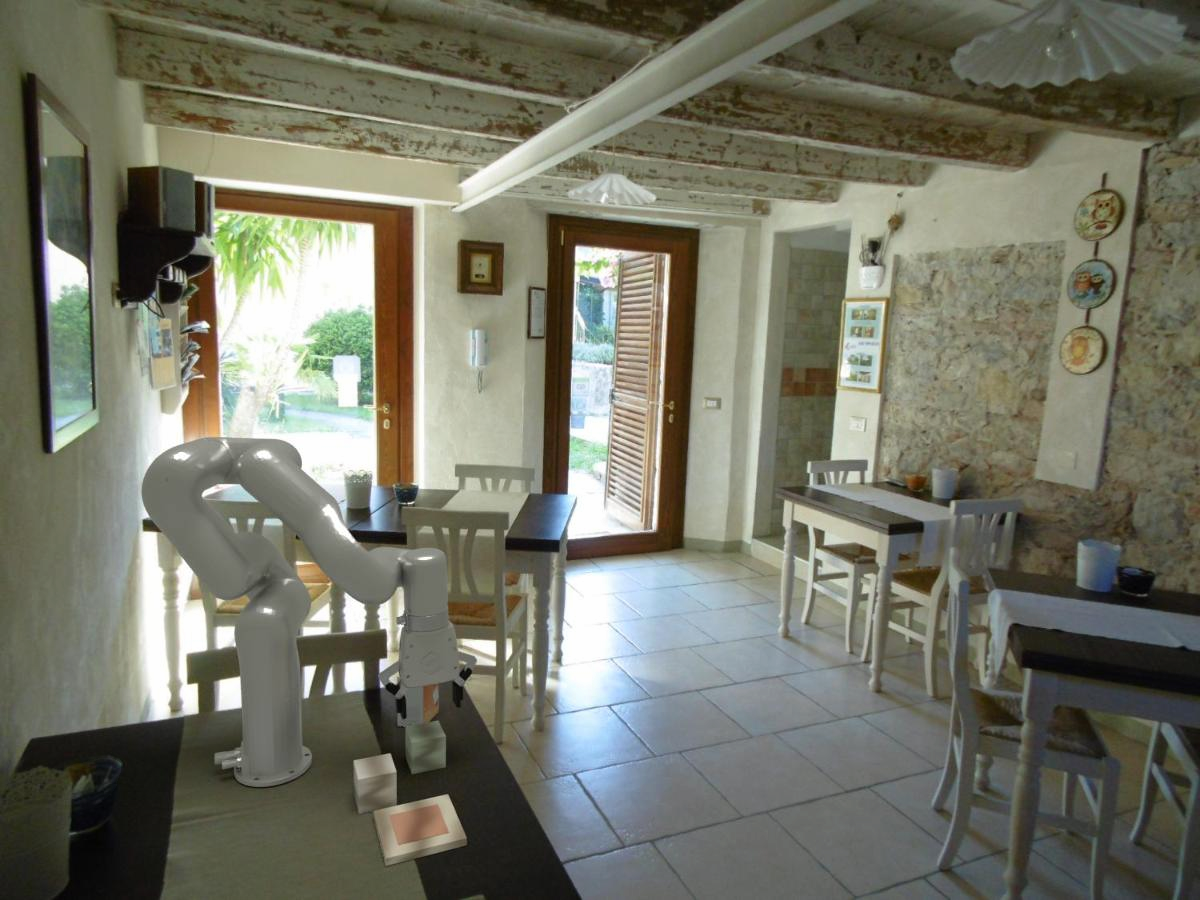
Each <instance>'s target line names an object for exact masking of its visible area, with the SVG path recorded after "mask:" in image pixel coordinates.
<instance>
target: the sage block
mask: <svg viewBox="0 0 1200 900" xmlns="http://www.w3.org/2000/svg"><path fill="white" fill-rule="evenodd" d="M404 728H405V730H404V731H405V734H404V736H405V739H404V740H405V760H406V762H407V764H408V767H409V769H410V773H411V775H414V774H415V775H416V774H419V773H425V772H428V771H434V770H438V769H444V768H446V767H447V736H446V734H445V732H444V730H443V727H442V725H441V722H440V721H439V720H435V721H434V720H433V721H430V722H428V723H422V724H417V725H411V726H406V727H404Z"/></svg>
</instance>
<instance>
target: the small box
mask: <svg viewBox="0 0 1200 900" xmlns="http://www.w3.org/2000/svg"><path fill="white" fill-rule="evenodd" d="M396 680H397V681H396V683H397V682H398V681H399V680H400V676H399V675H397V676H396ZM404 695H405V698H406V713H407V718H406V719H402V717H401V714H400V713H398V714H397V713H396V715H397V718H396V719H397V721H396V723H397V727H401V726H403V728H405V727H406V726H411V725H417V724H422V723H428V722H431V721H432V719H433V718H435V717H436V715H437V714H438V713H439V710H440V702H439V701H440V683H438V684H433V685H428V686H423V687H417V688H408V689H407V691H406V692H405V694H404Z"/></svg>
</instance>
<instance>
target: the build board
mask: <svg viewBox="0 0 1200 900" xmlns="http://www.w3.org/2000/svg"><path fill="white" fill-rule="evenodd" d="M372 812H373V813H372V815H373V816H372V818H373V822H374V827H375V830H376V834H377V837H378V841H380V842H379V845H380V849H381V850H380V851H381V853H383V854H382V857H384V858H383V861H384V865H385V867H387V866H391V865H394V864H395V865H396V864H401V863H403V862H404V863H405V862H407V861H411V860H414V859H419V858H422V857H427V856H431V855H434V854H438V853H442V852H445V851H450V850H453V849H458V848H462V847H466V846H467V845H468V844H467V843H468V840H467V839H468V837H467V836H466V832H465V830H464V828H463V826H462V824H461V821H460V819H459V817H458V815H457V812H456V809H455V807H454V805H453V803H452V800H451V798H450V796H449V793H447V794H442V795H438V796H435V797H430V798H429V797H428V798H426V799H420V800H416V801H411V802H407V803H402V804H397V805H396V806H391V807H387V808H383V809H378V810H374V811H372Z"/></svg>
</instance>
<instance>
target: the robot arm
mask: <svg viewBox="0 0 1200 900" xmlns="http://www.w3.org/2000/svg"><path fill="white" fill-rule="evenodd" d="M301 456H302V455H301V453H300V452H299V451H298V449H297V448H296V446H294V445H293V444H292V443H290V442H288V441H287V440H283V439H278V438H254V437H253V438H252V437H251V438H250V437H248V438H247V437H227V436H226V437H225V436H208V437H200V438H197V439H194V440H191V441H189V442H184V443H181V444H177V445H175V446H173V447H171V448H167V450H165V451H163V452H161V454H159V455H158V456H157V457H156V458H155V459H154V460H152V462H151V463H150V465H149V466H148V468H147V469H146V472H145V473H144V476H143V480H142V482H141V500H142V503H143V507H144V509H145V511H146V513H147V515H148V516H149V518H150V520H151V521H152V522H153V524H154V525H155V526H156V527H157V528H158V529H159V530H160V532H161V533H162V534H163V535H164V536H165V537H166V540H167V539H168V541H169V542H170V544H171V545H172V547H174V549H176V551H177V553H178V555H179V556H180V557H181V558H182V559H183V561H184V562H185V563H186V564H187V566H188V567H189V568H190V570H191V571H192V572H193V573H194V575H195V576H196V577H197V578H198V580H199V581H200V582H201V584H202V585H203V587H204V588H206V590H207V591H208V592H209V593H210V594H211V595H212V596H213V597H215V598H216V599H218V600H222V601H234V600H237V599H240V598H242V597H244V596H246V597H247V598H248V600H249V601H248V602H247V603H246V604H245V605H244V607H243V608H242V610H241V611H240V612H239V615H238V616H237V619H236V621H235V625H234V630H233V631H234V642H235V648H236V653H237V656H238V657H237V658H238V664H239V665H238V667H239V678H240V679H239V680H240V697H241V699H240V700H241V702H240V703H241V724H242V740H241V741H240V747H235V748H234V750H229V751H225V750H224V751H220V752H215V753H214V766H217V765H221V770H227V769H230V768H234V769H233V773H234V774H233V775H234V778H235V780H236V781H237V782H238V783H240V784H243V785H245V786H248V787H255V788H264V787H267V788H268V787H274V786H278V785H281V784H285V783H287V782H291V781H292V780H294V779H297V778H298V777H300V776H301V775H303V774H304V773H305V772H307V770H308V769H309V768H310V767H311V766H312V762H313V755H312V750H310V748H308V747H307V746H305V745H303V724H302V723H303V719H302V718H303V717H302V684H301V682H302V680H301V664H300V663H301V662H300V656H299V654H300V653H299V651H298V645H297V636H298V635H297V634H298V633H299V632H298V631H299V630H300V629H301V627H302V625H303V624H304V623H305V621H306V620H307V617H308V616H309V614H310V611H311V608H312V598H311V594H310V592H309V589H308V588H307V586H306V585H305V583H304V582H303V580H302V579H301V578H300V577H299V575H298V574H297V573H296V571H295V570H294V569H293V567H292V566H291V565H290V563H289V562H288V561H287V559H286V558H285V556H283V554H282V553H281V551H280V550H279V549H278V547H276V545H275V544H274V543H273V542H272V541H271V540H270V539H268V537H265V536H264V535H262V534H260V533H258V532H253V531H240V532H236V533H235V531H234V530H233V529H232V528H231V527H230V526H229V524H228V522H227V521H226V520H225V518H224V516H222V515H221V513H220V512H219V511H217V509H215V508H214V507H213V506H211V505H210V504H209V503H207V501H205V499H204V498H203V493H204V492H205V491H206V490H207V491H208V490H209V489H211V488H213V487H216V486H217V485H239V486H241V488H242V489H243V490H244V491H246V492H247V493H248V494H249V495H250V496H251V497H252V498H254V500H256V501H257V502H258V503H259V504H261V506H262V507H264V508H265V509H267V510H268V511H269V512H271V514H273V516H275V517H276V518H277V519H278V520H279V521H280V522H282V523H283V524H284V525H285V526H286V527H287V528H288V529H289V530H291V531H292V532H293V533H294V534H295V535H296V536H297V537H298V538H299V539H300V541H301V544H303V546H304V548H305V550H306V551H307V552H308V554H309V555H310V557H311V558H312V559H313V561H314V562H315V564H316V565H317V567H318V568H319V569H320V570H321V571H322V572H323V574H324V575H326V576H327V578H328V579H330V580H331V581H332V582H333V583H334V584H335V585H336V586H338V588H340V589H341V590H342V591H344V592H345V593H346V594H347V595H348V596H349V597H351V598H352V599H354V600H355V601H357V602H359V603H361V604H362V605H365V606H370V607H371V606H372V607H374V606H381V605H383V604H385V603H387V602H388V601H390V600H391V599H392V598H393V596H394V595H395V593H396V591H397V589H398V588H402V590H403V607H404V608H403V609H404V610H403V613H402V615H400V616H396V617H395V622H396V625H397V626H400V625H401V626H402V627H401V631H400V636H399V643H398V644H399V646H398V660H397V661H396V662H394V663H393V664H391V665H390V666H387V667H386V668H385V669H384V670H382V671H381V672H379V673H378V675H377V676H378V679H379V681H380V682H381V684H382V686H383V687H384V689H385V690H386V691H387V692H389V693H390V694H392V696H394V697H395V710H396V715H397V714H398V713H400V714H401V717H402V719H406V718H407V713H406V698H405V695H404V694H405V692H406V691H407V689H408V688H417V687H423V686H428V685H433V684H438V683H439V684H442V683H443V684H444V683H447V682H451V684H452V685H451V687H452V701H453V703H454V706H455V707H456V708H457V709H460V708H461V707H462V702H461V701H463V700H464V686H465V685H466V681H468V679H469V678H470V677H471V675H472V674H473V670H474V669H475V667H476V664H477V662H478V659H477V658H476V656H475V655H472V654H469V653H466V652H462V651H460V650H459V647H458V640H457V634H456V630H455V625H454V623H453V622H452V621H450V619H449V618H450V617H449V597H448V596H449V595H448V594H449V593H448V591H449V590H448V567H447V565H448V563H447V561H448V560H447V556H446V554H445V552H444V551H443V550H441V549H440V548H434V547H420V548H415V549H410V548H409V549H408V548H400V547H399V548H398V547H391V546H378V547H375V548H372V549H371V550H369V551H368V550H366V549H365V547H364V546H362V545H361V544H360V543H359V542H358V541H357V540H356V539H355V537H354V536H353V534H352V533H351V532H350V530H349V529H348V527H347V525H346V524H345V521H344V518H343V515H342V511H341V508H340V505H339V503H338V502H337V501H338V500H337V499H336V497H334V496H333V495H332V494H330V492H329V491H327V490H326V489H325V488H323V487H322V486H321V485H320V484H319V483H318V482H317V481H316V480H314V478H312V477H311V476H310V475H309V474H308V473H306V472H305V470H304V469H302V468H303V459H302V457H301ZM460 662H463V663H466V664H465V666H464V667H463V668H462V669H461V670H460V668H461V667H460ZM397 673H398V676H400V680H399V681H398V682H397V681H396V684H395V683H394V682H393V681H391V680H390V678H391V677H393V676H395V674H397Z"/></svg>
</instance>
